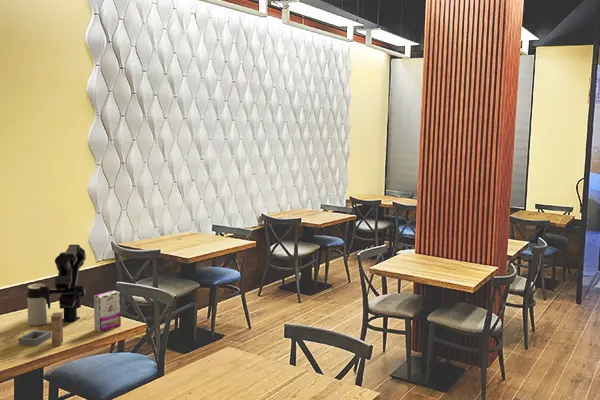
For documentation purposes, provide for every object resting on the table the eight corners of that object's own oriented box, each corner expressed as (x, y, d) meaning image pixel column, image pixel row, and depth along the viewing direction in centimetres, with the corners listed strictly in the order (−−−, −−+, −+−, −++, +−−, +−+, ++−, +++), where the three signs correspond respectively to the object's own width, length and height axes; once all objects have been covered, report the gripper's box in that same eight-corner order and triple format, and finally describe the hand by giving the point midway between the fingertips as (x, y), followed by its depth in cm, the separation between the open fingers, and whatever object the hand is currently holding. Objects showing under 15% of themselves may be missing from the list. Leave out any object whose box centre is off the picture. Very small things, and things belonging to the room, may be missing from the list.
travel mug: (50, 320, 275) (49, 284, 273) (40, 326, 267) (40, 288, 265) (34, 319, 276) (33, 283, 273) (24, 325, 268) (23, 287, 266)
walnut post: (54, 341, 249) (53, 312, 248) (62, 341, 250) (62, 312, 248) (51, 346, 244) (51, 316, 243) (60, 345, 245) (60, 316, 244)
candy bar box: (114, 323, 274) (114, 289, 272) (121, 326, 271) (120, 292, 269) (93, 329, 265) (93, 295, 263) (100, 332, 262) (99, 297, 260)
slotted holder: (33, 335, 256) (33, 330, 255) (51, 337, 254) (51, 331, 254) (18, 344, 245) (18, 338, 245) (36, 345, 244) (36, 340, 244)
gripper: (39, 268, 254) (33, 300, 245) (84, 267, 258) (80, 299, 249) (43, 281, 263) (38, 312, 253) (86, 280, 267) (83, 311, 257)
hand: (60, 308), depth 253 cm, fingers open, 9 cm apart
